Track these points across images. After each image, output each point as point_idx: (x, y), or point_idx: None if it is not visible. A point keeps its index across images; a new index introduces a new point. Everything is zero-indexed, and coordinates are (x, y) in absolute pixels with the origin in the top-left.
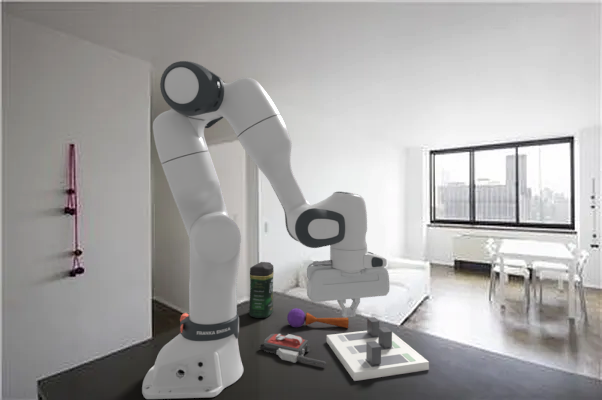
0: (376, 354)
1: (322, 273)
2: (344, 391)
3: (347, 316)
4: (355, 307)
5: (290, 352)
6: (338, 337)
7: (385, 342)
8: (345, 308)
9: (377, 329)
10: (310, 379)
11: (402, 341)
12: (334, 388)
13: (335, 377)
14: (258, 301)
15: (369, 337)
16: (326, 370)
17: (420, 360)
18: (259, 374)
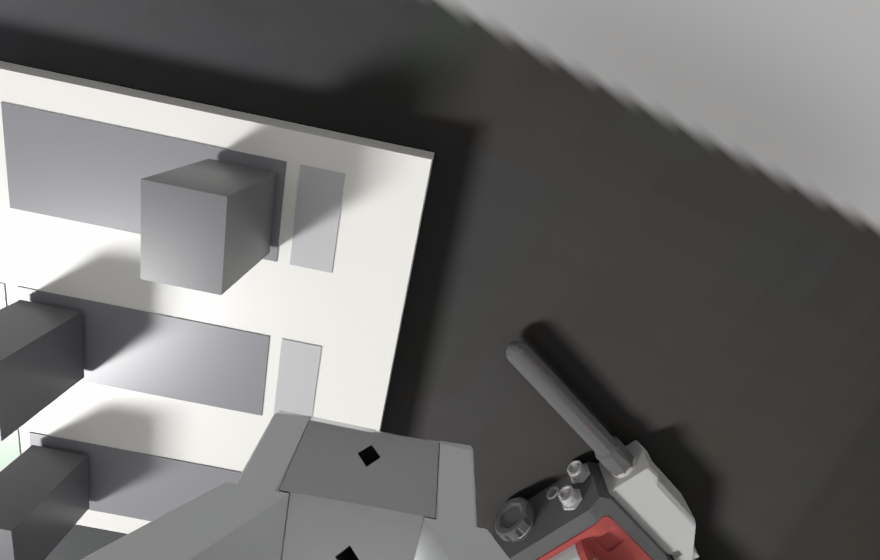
0: (212, 177)
1: None
2: (549, 91)
3: (418, 438)
4: (224, 511)
5: (654, 505)
6: None
7: (43, 325)
8: (458, 554)
9: (12, 476)
10: (653, 277)
11: None
12: (583, 143)
13: (514, 232)
14: None
15: (107, 454)
16: (521, 312)
17: None
18: (862, 427)
